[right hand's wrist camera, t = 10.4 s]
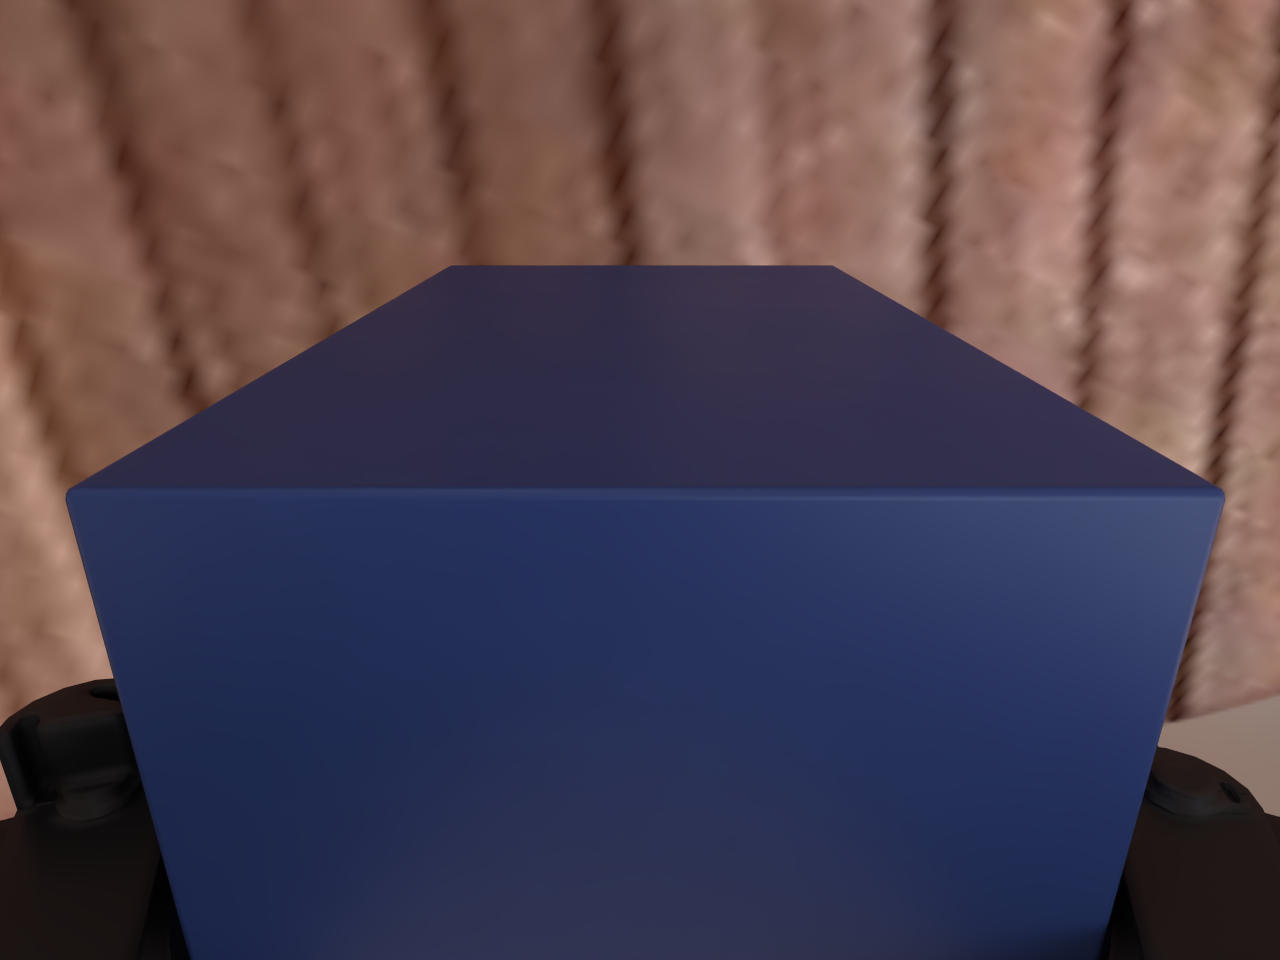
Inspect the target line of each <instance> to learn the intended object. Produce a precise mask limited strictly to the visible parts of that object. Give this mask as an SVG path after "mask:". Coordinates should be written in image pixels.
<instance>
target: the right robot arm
mask: <svg viewBox="0 0 1280 960" xmlns="http://www.w3.org/2000/svg"><path fill="white" fill-rule="evenodd" d="M0 761H1V764H2V767H3V769H4V772H5V775H6V778H7V781H8V784H9V787H10V790H11V793H12V796H13V798H14V801H15V804H16V807H17V812H16V814H15V816H14V817H13V818H9V819H5V820H1V821H0V960H190V957H189V953H188V950H187V946H186V942H185V938H184V935H183V931H182V927H181V924H180V920H179V916H178V913H177V909H176V905H175V902H174V898H173V894H172V891H171V887H170V883H169V880H168V876H167V872H166V868H165V865H164V861H163V857H162V854H161V850H160V846H159V843H158V839H157V835H156V832H155V828H154V824H153V821H152V817H151V813H150V810H149V806H148V802H147V798H146V795H145V791H144V787H143V784H142V780H141V776H140V773H139V769H138V765H137V762H136V758H135V754H134V751H133V747H132V743H131V740H130V736H129V732H128V728H127V725H126V721H125V717H124V714H123V710H122V706H121V703H120V699H119V695H118V692H117V688H116V684H115V681H114V678H113V679H101V680H93V681H89V682H86V683H82V684H78V685H74V686H70V687H66V688H63V689H61V690H58V691H56V692H54V693H51V694H49V695H47V696H44V697H42V698H40V699H37V700H35V701H33V702H32V703H30V704H29V705H27V706H25V707H24V708H22V709H21V710H19V711H18V712H16V713H15V714H13V715H12V716H10V717H9V718H8V719H7V720H6V721H5V722H4V723H3V724H2V725H1V727H0ZM1098 960H1280V817H1278V816H1274V815H1271V814H1267V813H1265V812H1264V810H1263V808H1262V807H1261V806H1260V804H1259V803H1258V802H1257V800H1256V799H1255V798H1254V796H1253V795H1252V794H1251V792H1250V791H1249V790H1248V789H1247V788H1246V787H1244V786H1243V785H1242V784H1240V783H1239V782H1238V781H1237V780H1235V779H1234V778H1233V777H1231V776H1230V775H1229V774H1227V773H1226V772H1225V771H1223V770H1221V769H1219V768H1217V767H1215V766H1213V765H1211V764H1209V763H1207V762H1205V761H1203V760H1201V759H1199V758H1197V757H1194V756H1191V755H1187V754H1184V753H1181V752H1177V751H1174V750H1170V749H1167V748H1160V747H1158V745H1157V748H1156V752H1155V755H1154V759H1153V763H1152V766H1151V770H1150V773H1149V777H1148V781H1147V784H1146V788H1145V791H1144V795H1143V799H1142V802H1141V806H1140V810H1139V813H1138V817H1137V820H1136V824H1135V828H1134V831H1133V835H1132V839H1131V842H1130V846H1129V849H1128V853H1127V857H1126V860H1125V864H1124V867H1123V871H1122V875H1121V878H1120V882H1119V886H1118V889H1117V893H1116V896H1115V900H1114V904H1113V907H1112V911H1111V914H1110V918H1109V922H1108V925H1107V929H1106V933H1105V936H1104V940H1103V943H1102V947H1101V951H1100V954H1099V958H1098Z"/></svg>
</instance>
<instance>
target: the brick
mask: <svg viewBox="0 0 1280 960" xmlns="http://www.w3.org/2000/svg"><path fill="white" fill-rule="evenodd" d="M1224 502H1225V495H1224V492H1223V490H1222V489H1221V488H1219V487H1217V486H1216V485H1214V484H1212V483H1210V482H1209V481H1207V480H1205V479H1203V478H1202V477H1200V476H1198V475H1196V474H1195V473H1193V472H1191V471H1189V470H1188V469H1186V468H1184V467H1182V466H1181V465H1179V464H1177V463H1175V462H1174V461H1172V460H1170V459H1169V458H1167V457H1165V456H1163V455H1162V454H1160V453H1158V452H1156V451H1155V450H1153V449H1151V448H1149V447H1148V446H1146V445H1144V444H1142V443H1141V442H1139V441H1137V440H1135V439H1134V438H1132V437H1130V436H1128V435H1127V434H1125V433H1123V432H1122V431H1120V430H1118V429H1116V428H1115V427H1113V426H1111V425H1109V424H1108V423H1106V422H1104V421H1102V420H1101V419H1099V418H1097V417H1095V416H1094V415H1092V414H1090V413H1088V412H1087V411H1085V410H1083V409H1081V408H1080V407H1078V406H1076V405H1075V404H1073V403H1071V402H1069V401H1068V400H1066V399H1064V398H1062V397H1061V396H1059V395H1057V394H1055V393H1054V392H1052V391H1050V390H1048V389H1047V388H1045V387H1043V386H1041V385H1040V384H1038V383H1036V382H1034V381H1033V380H1031V379H1029V378H1028V377H1026V376H1024V375H1022V374H1021V373H1019V372H1017V371H1015V370H1014V369H1012V368H1010V367H1008V366H1007V365H1005V364H1003V363H1001V362H1000V361H998V360H996V359H994V358H993V357H991V356H989V355H987V354H986V353H984V352H982V351H981V350H979V349H977V348H975V347H974V346H972V345H970V344H968V343H967V342H965V341H963V340H961V339H960V338H958V337H956V336H954V335H953V334H951V333H949V332H947V331H946V330H944V329H942V328H940V327H939V326H937V325H935V324H934V323H932V322H930V321H928V320H927V319H925V318H923V317H921V316H920V315H918V314H916V313H914V312H913V311H911V310H909V309H907V308H906V307H904V306H902V305H900V304H899V303H897V302H895V301H893V300H892V299H890V298H888V297H887V296H885V295H883V294H881V293H880V292H878V291H876V290H874V289H873V288H871V287H869V286H867V285H866V284H864V283H862V282H860V281H859V280H857V279H855V278H853V277H852V276H850V275H848V274H847V273H845V272H843V271H841V270H840V269H838V268H836V267H834V266H449V267H448V268H446V269H444V270H442V271H441V272H439V273H437V274H436V275H434V276H432V277H430V278H429V279H427V280H425V281H424V282H422V283H420V284H418V285H417V286H415V287H413V288H412V289H410V290H408V291H406V292H405V293H403V294H401V295H400V296H398V297H396V298H395V299H393V300H391V301H389V302H388V303H386V304H384V305H383V306H381V307H379V308H377V309H376V310H374V311H372V312H371V313H369V314H367V315H365V316H364V317H362V318H360V319H359V320H357V321H355V322H353V323H352V324H350V325H348V326H347V327H345V328H343V329H342V330H340V331H338V332H336V333H335V334H333V335H331V336H330V337H328V338H326V339H324V340H323V341H321V342H319V343H318V344H316V345H314V346H312V347H311V348H309V349H307V350H306V351H304V352H302V353H300V354H299V355H297V356H295V357H294V358H292V359H290V360H289V361H287V362H285V363H283V364H282V365H280V366H278V367H277V368H275V369H273V370H271V371H270V372H268V373H266V374H265V375H263V376H261V377H259V378H258V379H256V380H254V381H253V382H251V383H249V384H247V385H246V386H244V387H242V388H241V389H239V390H237V391H236V392H234V393H232V394H230V395H229V396H227V397H225V398H224V399H222V400H220V401H218V402H217V403H215V404H213V405H212V406H210V407H208V408H206V409H205V410H203V411H201V412H200V413H198V414H196V415H195V416H193V417H191V418H189V419H188V420H186V421H184V422H183V423H181V424H179V425H177V426H176V427H174V428H172V429H171V430H169V431H167V432H165V433H164V434H162V435H160V436H159V437H157V438H155V439H153V440H152V441H150V442H148V443H147V444H145V445H143V446H142V447H140V448H138V449H136V450H135V451H133V452H131V453H130V454H128V455H126V456H124V457H123V458H121V459H119V460H118V461H116V462H114V463H112V464H111V465H109V466H107V467H106V468H104V469H102V470H100V471H99V472H97V473H95V474H94V475H92V476H90V477H89V478H87V479H85V480H83V481H82V482H80V483H78V484H77V485H75V486H73V487H71V488H70V489H69V490H68V491H67V493H66V504H67V507H68V511H69V515H70V518H71V522H72V526H73V529H74V533H75V537H76V541H77V544H78V548H79V552H80V555H81V559H82V563H83V566H84V570H85V574H86V577H87V581H88V585H89V588H90V592H91V596H92V599H93V603H94V607H95V611H96V614H97V618H98V622H99V625H100V629H101V633H102V636H103V640H104V644H105V647H106V651H107V655H108V658H109V662H110V666H111V670H112V673H113V677H114V681H115V684H116V688H117V692H118V695H119V699H120V703H121V706H122V710H123V714H124V717H125V721H126V725H127V728H128V732H129V736H130V740H131V743H132V747H133V751H134V754H135V758H136V762H137V765H138V769H139V773H140V776H141V780H142V784H143V787H144V791H145V795H146V798H147V802H148V806H149V810H150V813H151V817H152V821H153V824H154V828H155V832H156V835H157V839H158V843H159V846H160V850H161V854H162V857H163V861H164V865H165V868H166V872H167V876H168V880H169V883H170V887H171V891H172V894H173V898H174V902H175V905H176V909H177V913H178V916H179V920H180V924H181V927H182V931H183V935H184V938H185V942H186V946H187V950H188V953H189V957H190V960H1098V958H1099V954H1100V951H1101V947H1102V943H1103V940H1104V936H1105V933H1106V929H1107V925H1108V922H1109V918H1110V914H1111V911H1112V907H1113V904H1114V900H1115V896H1116V893H1117V889H1118V886H1119V882H1120V878H1121V875H1122V871H1123V867H1124V864H1125V860H1126V857H1127V853H1128V849H1129V846H1130V842H1131V839H1132V835H1133V831H1134V828H1135V824H1136V820H1137V817H1138V813H1139V810H1140V806H1141V802H1142V799H1143V795H1144V791H1145V788H1146V784H1147V781H1148V777H1149V773H1150V770H1151V766H1152V763H1153V759H1154V755H1155V752H1156V748H1157V744H1158V741H1159V737H1160V733H1161V730H1162V726H1163V723H1164V719H1165V716H1166V712H1167V708H1168V705H1169V701H1170V697H1171V694H1172V690H1173V687H1174V683H1175V679H1176V676H1177V672H1178V668H1179V665H1180V661H1181V658H1182V654H1183V650H1184V647H1185V643H1186V640H1187V636H1188V632H1189V629H1190V625H1191V621H1192V618H1193V614H1194V611H1195V607H1196V603H1197V600H1198V596H1199V593H1200V589H1201V585H1202V582H1203V578H1204V574H1205V571H1206V567H1207V564H1208V560H1209V556H1210V553H1211V549H1212V545H1213V542H1214V538H1215V535H1216V531H1217V527H1218V524H1219V520H1220V517H1221V513H1222V509H1223V506H1224Z"/></svg>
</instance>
